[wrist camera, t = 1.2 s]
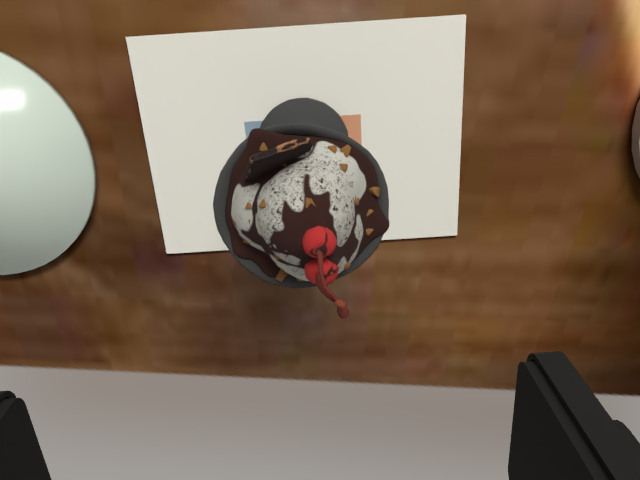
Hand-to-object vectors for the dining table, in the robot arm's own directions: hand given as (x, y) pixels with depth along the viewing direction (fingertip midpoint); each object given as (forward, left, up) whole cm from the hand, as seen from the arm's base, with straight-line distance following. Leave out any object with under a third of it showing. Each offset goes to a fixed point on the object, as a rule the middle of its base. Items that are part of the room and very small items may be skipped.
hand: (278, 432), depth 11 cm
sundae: (0, 0, -22) cm, 22 cm away
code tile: (0, 0, -22) cm, 22 cm away
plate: (+18, 0, -22) cm, 28 cm away
